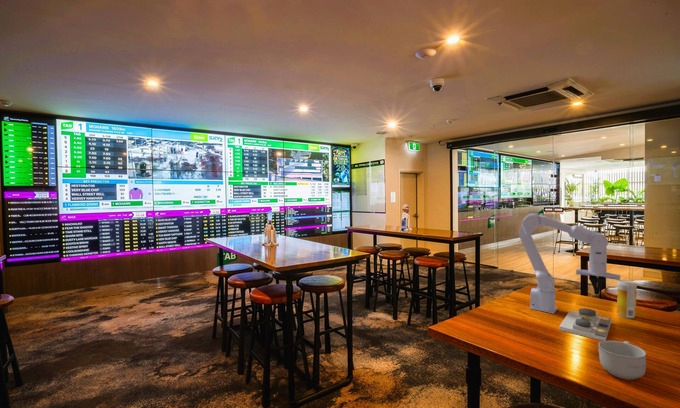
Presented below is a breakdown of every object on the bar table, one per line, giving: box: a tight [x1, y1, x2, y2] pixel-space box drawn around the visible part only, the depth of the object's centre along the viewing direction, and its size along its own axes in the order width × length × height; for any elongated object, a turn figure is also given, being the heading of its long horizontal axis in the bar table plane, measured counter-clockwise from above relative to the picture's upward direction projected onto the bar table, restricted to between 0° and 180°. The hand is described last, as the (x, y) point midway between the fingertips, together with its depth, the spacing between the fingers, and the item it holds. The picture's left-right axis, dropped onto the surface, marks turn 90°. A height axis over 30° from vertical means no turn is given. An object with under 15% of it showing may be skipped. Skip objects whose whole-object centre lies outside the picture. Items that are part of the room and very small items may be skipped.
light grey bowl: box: [597, 340, 647, 381], centre depth 98 cm, size 14×11×8 cm
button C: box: [583, 307, 597, 315], centre depth 135 cm, size 5×5×3 cm
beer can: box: [616, 279, 638, 319], centre depth 139 cm, size 6×6×15 cm
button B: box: [578, 308, 593, 319], centre depth 130 cm, size 5×5×3 cm
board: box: [558, 310, 612, 342], centre depth 130 cm, size 14×22×3 cm, turn 136°
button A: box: [576, 319, 591, 327], centre depth 125 cm, size 5×5×3 cm
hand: (596, 293), depth 138 cm, fingers closed
